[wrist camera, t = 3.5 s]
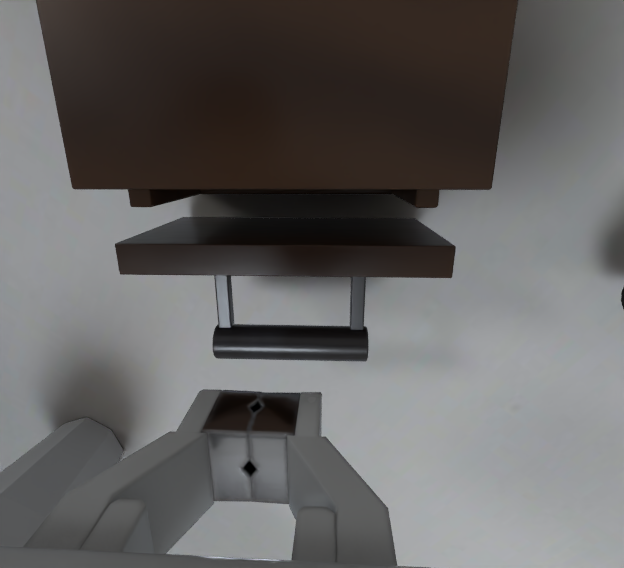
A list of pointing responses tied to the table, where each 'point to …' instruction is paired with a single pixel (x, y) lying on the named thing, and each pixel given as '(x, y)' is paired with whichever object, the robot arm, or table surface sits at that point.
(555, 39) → the table surface
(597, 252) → the table surface
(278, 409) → the robot arm
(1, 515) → the faceted bottle
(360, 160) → the cabinet
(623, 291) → the mug
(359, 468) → the table surface
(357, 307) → the drawer
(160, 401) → the table surface
